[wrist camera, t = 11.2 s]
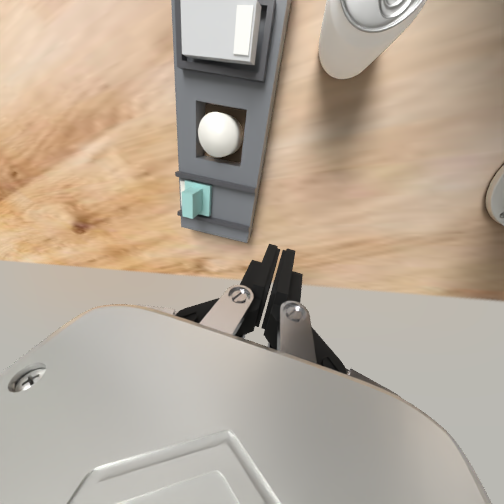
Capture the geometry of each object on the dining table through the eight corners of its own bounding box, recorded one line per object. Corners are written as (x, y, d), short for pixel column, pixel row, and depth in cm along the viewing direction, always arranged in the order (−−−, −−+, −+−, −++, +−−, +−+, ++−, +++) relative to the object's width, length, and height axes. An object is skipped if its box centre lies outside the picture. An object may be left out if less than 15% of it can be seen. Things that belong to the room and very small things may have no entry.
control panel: (295, -25, 20) (294, -58, 16) (250, 235, 36) (245, 246, 33) (184, -37, 21) (161, -71, 18) (189, 220, 37) (177, 229, 34)
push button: (245, 117, 27) (237, 115, 24) (240, 157, 30) (233, 160, 26) (210, 111, 27) (198, 108, 24) (209, 150, 30) (197, 153, 27)
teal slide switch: (212, 185, 30) (200, 192, 26) (210, 214, 32) (200, 224, 29) (187, 179, 30) (173, 185, 27) (187, 209, 33) (175, 218, 29)
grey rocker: (261, 6, 18) (256, -2, 17) (254, 65, 20) (249, 61, 19) (188, 4, 20) (179, -4, 19) (189, 57, 22) (180, 53, 21)
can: (333, 94, 24) (357, 68, 14) (307, 36, 22) (312, -43, 12) (393, 46, 21) (476, -31, 11) (368, -26, 19) (443, -200, 9)
